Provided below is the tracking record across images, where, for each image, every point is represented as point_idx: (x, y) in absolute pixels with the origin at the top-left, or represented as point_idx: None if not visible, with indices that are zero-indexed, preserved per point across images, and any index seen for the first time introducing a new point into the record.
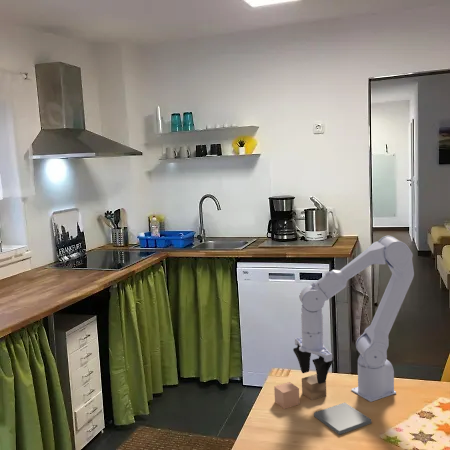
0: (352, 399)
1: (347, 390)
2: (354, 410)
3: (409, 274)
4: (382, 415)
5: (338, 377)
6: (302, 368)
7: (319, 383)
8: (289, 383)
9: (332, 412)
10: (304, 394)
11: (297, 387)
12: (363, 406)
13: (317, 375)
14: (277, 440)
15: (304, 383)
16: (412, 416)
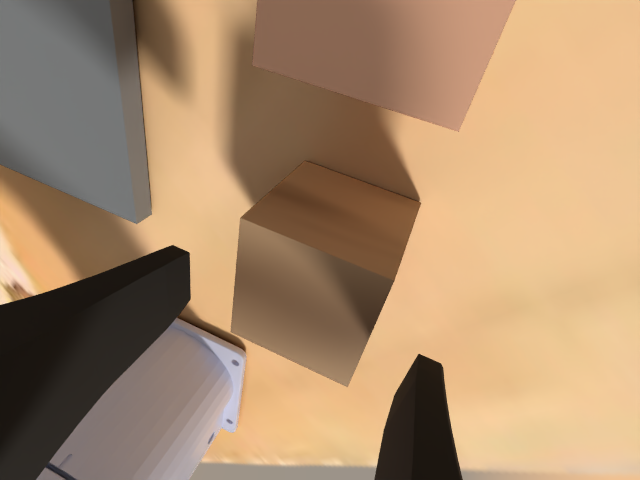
0: (191, 288)
1: (262, 348)
2: (58, 180)
3: None
4: (48, 232)
5: (376, 437)
6: (413, 400)
7: (170, 246)
8: (428, 88)
9: (71, 78)
10: (388, 195)
11: (278, 71)
12: (125, 257)
13: (108, 285)
14: None
15: (357, 242)
16: (23, 275)
